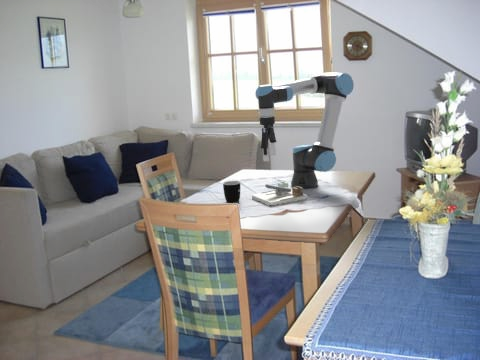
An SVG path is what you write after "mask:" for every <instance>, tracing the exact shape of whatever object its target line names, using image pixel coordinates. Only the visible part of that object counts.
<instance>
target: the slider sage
mask: <svg viewBox="0 0 480 360" xmlns="http://www.w3.org/2000/svg"><path fill="white" fill-rule="evenodd" d="M277 187H283V188H284V187H287V188H289V182H286V181H284V180H283V181H282V180H281V181H279V182H277ZM280 191H281V190H280Z"/></svg>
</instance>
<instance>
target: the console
mask: <svg viewBox="0 0 480 360" xmlns="http://www.w3.org/2000/svg"><path fill="white" fill-rule="evenodd" d="M251 199H252V200H254V201H256V202H259V201H260V203H262V202H263V203H262V204H264V203H265V204H264V205H266V204H268V205H267V206H269V205H275V206H277V205H276V204H279V205H282V203H284V204H288V203H287V202H289V203H293V201H294V202H297V201H298V200H299V201H303V200H307V199H308V194H305V193H303V195H301V196H294V195H292V189H291V192H287V191H280V190H275V189H271V190H269V191H268V190H267V191H261V192H260V193H254V194H252V195H251ZM299 201H298V202H299Z"/></svg>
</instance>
